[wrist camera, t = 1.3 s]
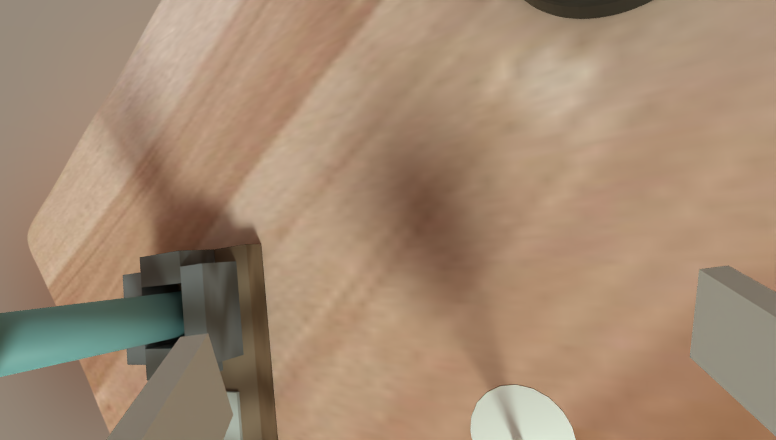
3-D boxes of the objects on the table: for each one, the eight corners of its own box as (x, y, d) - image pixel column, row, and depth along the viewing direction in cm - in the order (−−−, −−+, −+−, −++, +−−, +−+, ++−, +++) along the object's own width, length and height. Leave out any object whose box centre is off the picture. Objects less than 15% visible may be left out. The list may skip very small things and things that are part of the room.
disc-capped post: (170, 275, 48) (-92, 297, 31) (222, 268, 45) (-43, 288, 27) (175, 350, 47) (-91, 417, 30) (228, 349, 44) (-41, 425, 26)
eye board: (165, 259, 52) (113, 262, 47) (261, 243, 45) (212, 244, 40) (180, 493, 49) (127, 524, 44) (284, 515, 42) (235, 555, 37)
